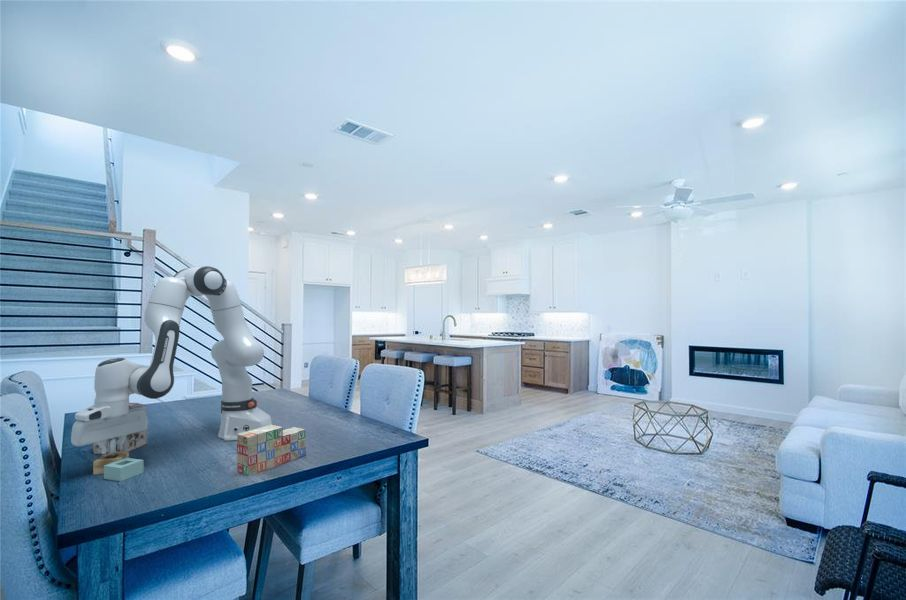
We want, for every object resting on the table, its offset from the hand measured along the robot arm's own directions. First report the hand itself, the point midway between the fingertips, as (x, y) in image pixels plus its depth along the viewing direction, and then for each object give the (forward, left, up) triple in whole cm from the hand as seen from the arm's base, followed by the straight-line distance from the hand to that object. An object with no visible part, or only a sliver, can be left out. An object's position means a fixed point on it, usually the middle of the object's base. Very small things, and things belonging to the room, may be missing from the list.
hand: (111, 451), depth 139 cm
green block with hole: (-8, +6, -6) cm, 11 cm away
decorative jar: (+11, -20, -6) cm, 23 cm away
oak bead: (0, 0, -6) cm, 6 cm away
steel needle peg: (0, 0, -5) cm, 5 cm away
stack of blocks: (-51, -1, -6) cm, 51 cm away
